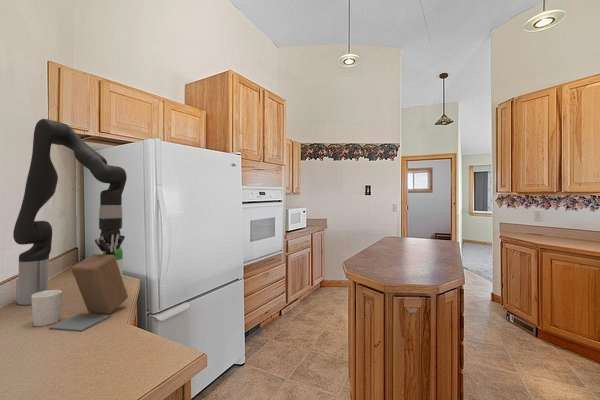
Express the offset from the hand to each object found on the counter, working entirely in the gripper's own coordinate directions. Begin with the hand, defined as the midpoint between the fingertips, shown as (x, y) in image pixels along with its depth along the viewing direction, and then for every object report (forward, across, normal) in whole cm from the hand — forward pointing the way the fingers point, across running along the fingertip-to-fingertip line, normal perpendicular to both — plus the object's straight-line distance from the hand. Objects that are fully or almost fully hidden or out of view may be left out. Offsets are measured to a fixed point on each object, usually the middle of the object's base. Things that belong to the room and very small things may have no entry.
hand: (110, 261), depth 112 cm
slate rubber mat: (+19, +12, 0) cm, 22 cm away
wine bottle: (+19, -18, -14) cm, 30 cm away
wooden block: (+17, 0, 0) cm, 17 cm away
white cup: (+19, +14, -12) cm, 26 cm away
